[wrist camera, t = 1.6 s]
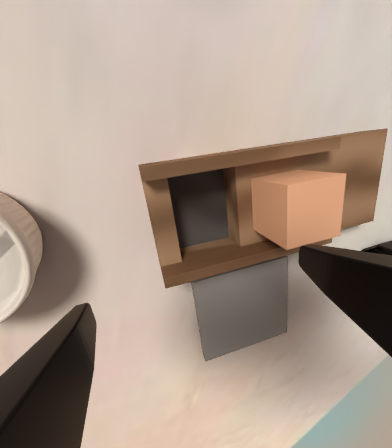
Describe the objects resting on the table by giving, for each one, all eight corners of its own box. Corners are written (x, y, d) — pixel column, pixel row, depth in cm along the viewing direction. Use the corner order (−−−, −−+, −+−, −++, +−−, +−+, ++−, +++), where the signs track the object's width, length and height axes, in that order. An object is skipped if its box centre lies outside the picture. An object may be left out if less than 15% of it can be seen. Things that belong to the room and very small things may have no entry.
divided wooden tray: (349, 214, 28) (392, 226, 23) (159, 261, 22) (165, 288, 18) (358, 131, 24) (411, 125, 20) (138, 164, 19) (139, 167, 15)
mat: (282, 326, 31) (286, 332, 30) (203, 354, 28) (205, 361, 27) (282, 253, 27) (287, 256, 26) (190, 278, 24) (192, 282, 23)
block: (297, 219, 22) (340, 235, 17) (253, 229, 21) (286, 250, 16) (298, 169, 20) (346, 173, 16) (251, 178, 19) (287, 185, 15)
